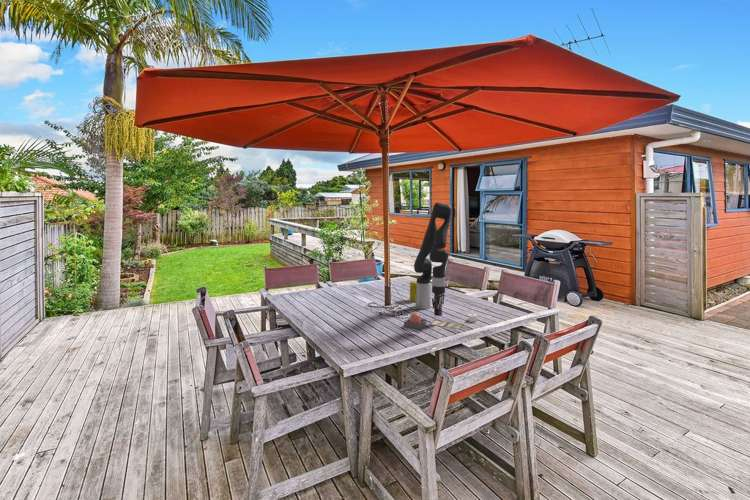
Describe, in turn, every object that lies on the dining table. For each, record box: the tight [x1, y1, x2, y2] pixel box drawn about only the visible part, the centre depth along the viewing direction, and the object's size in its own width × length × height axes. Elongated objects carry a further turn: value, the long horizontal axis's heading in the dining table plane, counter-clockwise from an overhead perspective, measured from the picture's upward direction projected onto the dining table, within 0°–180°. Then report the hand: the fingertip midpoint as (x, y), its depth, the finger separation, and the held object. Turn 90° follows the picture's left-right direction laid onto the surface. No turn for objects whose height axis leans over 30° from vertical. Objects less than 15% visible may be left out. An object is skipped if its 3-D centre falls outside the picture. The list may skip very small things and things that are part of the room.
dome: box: [409, 312, 422, 323], centre depth 210 cm, size 6×6×6 cm
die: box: [468, 313, 478, 323], centre depth 218 cm, size 4×4×4 cm
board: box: [428, 319, 465, 330], centre depth 212 cm, size 18×10×1 cm, turn 60°
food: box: [409, 280, 417, 303], centre depth 269 cm, size 15×12×10 cm
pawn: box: [433, 303, 443, 317], centre depth 213 cm, size 4×4×7 cm
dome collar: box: [403, 317, 427, 330], centre depth 211 cm, size 10×10×4 cm
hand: (438, 313), depth 214 cm, fingers closed on pawn, 4 cm apart
